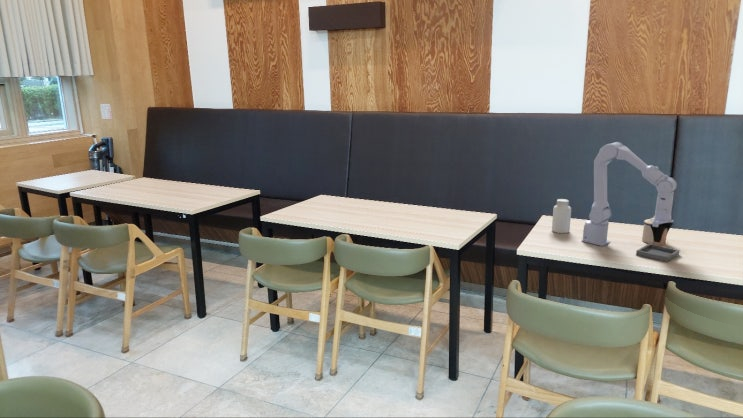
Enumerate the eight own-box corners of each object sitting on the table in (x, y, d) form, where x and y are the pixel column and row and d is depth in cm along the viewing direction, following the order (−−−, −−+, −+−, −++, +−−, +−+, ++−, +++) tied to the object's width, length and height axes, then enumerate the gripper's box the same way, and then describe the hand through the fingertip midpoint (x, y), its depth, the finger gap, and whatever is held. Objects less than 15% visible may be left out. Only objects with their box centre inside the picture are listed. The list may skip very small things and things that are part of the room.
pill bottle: (550, 228, 262) (552, 198, 258) (567, 229, 261) (570, 198, 257) (553, 233, 254) (555, 201, 250) (571, 234, 253) (574, 202, 249)
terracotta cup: (650, 244, 223) (652, 228, 222) (654, 242, 226) (656, 225, 225) (663, 247, 220) (665, 230, 218) (667, 244, 223) (669, 227, 222)
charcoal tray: (635, 255, 224) (636, 250, 224) (648, 248, 233) (649, 243, 232) (667, 262, 216) (667, 257, 215) (678, 254, 224) (679, 250, 224)
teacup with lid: (662, 246, 235) (666, 220, 232) (639, 242, 240) (642, 217, 237) (666, 239, 245) (670, 214, 242) (644, 235, 250) (647, 211, 247)
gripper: (667, 213, 212) (663, 246, 215) (681, 206, 221) (676, 238, 225) (648, 209, 217) (644, 242, 220) (662, 203, 226) (658, 235, 230)
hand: (659, 240), depth 223 cm, fingers closed on terracotta cup, 5 cm apart
